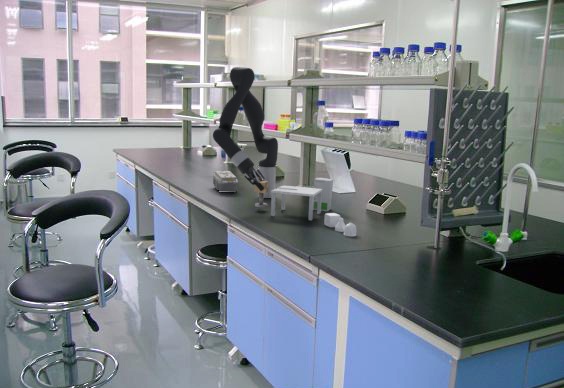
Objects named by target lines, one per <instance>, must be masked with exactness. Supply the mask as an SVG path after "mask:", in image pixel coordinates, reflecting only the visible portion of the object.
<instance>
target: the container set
mask: <svg viewBox="0 0 564 388" xmlns="http://www.w3.org/2000/svg"><path fill="white" fill-rule="evenodd" d="M323 219H324V226H326V227H329V228H334V231H335V232H341V233H343V236H346V237H357V226H356V225H355V224H354V223H352V222H349V223H347V224H345V222H344V218H343V217H341V215H340V214H338V213H336V212H327V213H325V214H324V218H323Z"/></svg>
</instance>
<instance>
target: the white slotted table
mask: <svg viewBox="0 0 564 388" xmlns="http://www.w3.org/2000/svg"><path fill="white" fill-rule="evenodd" d="M271 193H272V196H271V199H270V200H271V201H270V202H271V204H270V206H271V207H270V216H271V217H275V216H276V202H277V201H276V199H277V198H276V196H277V195H276V194H280V195H281V206H280V207H281V208H280V210H281V211H286V196H287V195H293V196H300V197H301V196H303V197H309V199H308V200H309V201H308V221H313V218H314V210H313V199H314V196H315V195H317V194H318V202H317V210H316V214H317V215H321V214H322V211H321V199H322V189H317V188H314V187H306V186H305V187H304V186H294V185H281V186H278V187H277V188H276V187H275V189H274V190H271Z"/></svg>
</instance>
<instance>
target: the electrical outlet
mask: <svg viewBox="0 0 564 388" xmlns="http://www.w3.org/2000/svg"><path fill="white" fill-rule="evenodd" d="M213 173H214V174H213V175H212V183H213V186H214V189H215V188H216V189H217V190H219V191H237V192H238V185H239V180H238V179H237V176H236V174H235V175H234V174H233V173H232V171H230V170H215V171H213ZM216 189H215V190H216ZM217 190H216V191H217ZM219 191H218V192H219Z"/></svg>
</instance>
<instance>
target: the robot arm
mask: <svg viewBox="0 0 564 388" xmlns="http://www.w3.org/2000/svg"><path fill="white" fill-rule="evenodd" d="M255 75H256V74H255V72H254V70H253V69H252V68H250V67H246V66H234V67H232V68H231V69H230V73H229V79H230V83H231V85H232V86H233V88H234V91H235V92H234V94H233V95H232V97H231V98H230V99H229V100H228V101H227V102H226V104H224V107H223V109H222V111H221V114H220V118H219V125H218V128H216V129H215V130H214V131H213V132H212V138H213V141H215V143H216V144H217V145H218V146H219V147H220V148H221V149H222V150H223V152H224V153H225V154H226V156H227V157H228V158H229V159H230V161H231V162H232V163H233V165H234V166H235V167H236V168H237V169H238V171H239V172H240V174H242V175H244V178H245V179H246V180H247V181H248V182H249V183H250V184H251V185H252V186H254V187H255V186H257V187H258V188H259V190H260V191H262V190H263V189H264V187H263V186H262V185H261V183H259V181H268V192H266V193H264V198H271V196H272V193H271V190H274V189H276V176H277V175H276V173H277V172H276V170H277V167H276V166H277V161H278V152H279V141H278V139H277V138H276V137H273V136H265V134H264V133H263V124H264V121H265V112H264V110H263V107H262V104H261V103H260V101H259V100H258V99H257V97H256V96H255V95H254V94H253V93H252V91H250V90H251V88H252V87H253V83H254V81H255ZM240 107H242V108H243V111H244V114H245V117H246V119H247V122H248V125H249V128H250V130H251V133H252V137H253V140H254V145H255V149H256V150H257V151H258V153H261V154H265V155H266V156H265V158H264V159H260V160H259V161H258V169H255V167H254V166H255V163H254V162H253V161H252V160H251V158H250V157H249V155H247V153H245V152H244V151H243V150H242V149H241V147H240V146H239V145H238V144H237V143H236V142H235V141H234V140H233V138H232V137H231V134H232V130H233V125H234V124H235V121H236V119H237V115H238V113H239V110H240ZM257 198H259V193H257Z"/></svg>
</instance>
